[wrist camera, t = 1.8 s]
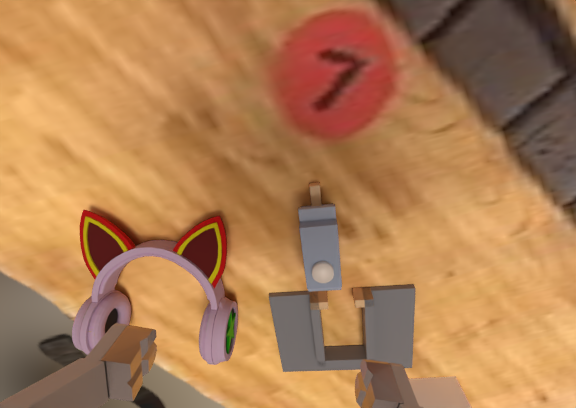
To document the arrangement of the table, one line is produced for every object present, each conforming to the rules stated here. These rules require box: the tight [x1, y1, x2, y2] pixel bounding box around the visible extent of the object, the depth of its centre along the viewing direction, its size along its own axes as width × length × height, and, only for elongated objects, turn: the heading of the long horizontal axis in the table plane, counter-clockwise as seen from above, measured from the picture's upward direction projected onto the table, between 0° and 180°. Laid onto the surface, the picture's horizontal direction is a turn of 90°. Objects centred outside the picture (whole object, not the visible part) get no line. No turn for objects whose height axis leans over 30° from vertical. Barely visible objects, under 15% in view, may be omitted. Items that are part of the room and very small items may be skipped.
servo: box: [298, 182, 342, 292], centre depth 34 cm, size 4×12×7 cm, turn 8°
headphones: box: [72, 210, 238, 365], centre depth 37 cm, size 20×10×20 cm
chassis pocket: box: [269, 284, 415, 372], centre depth 42 cm, size 20×15×2 cm
